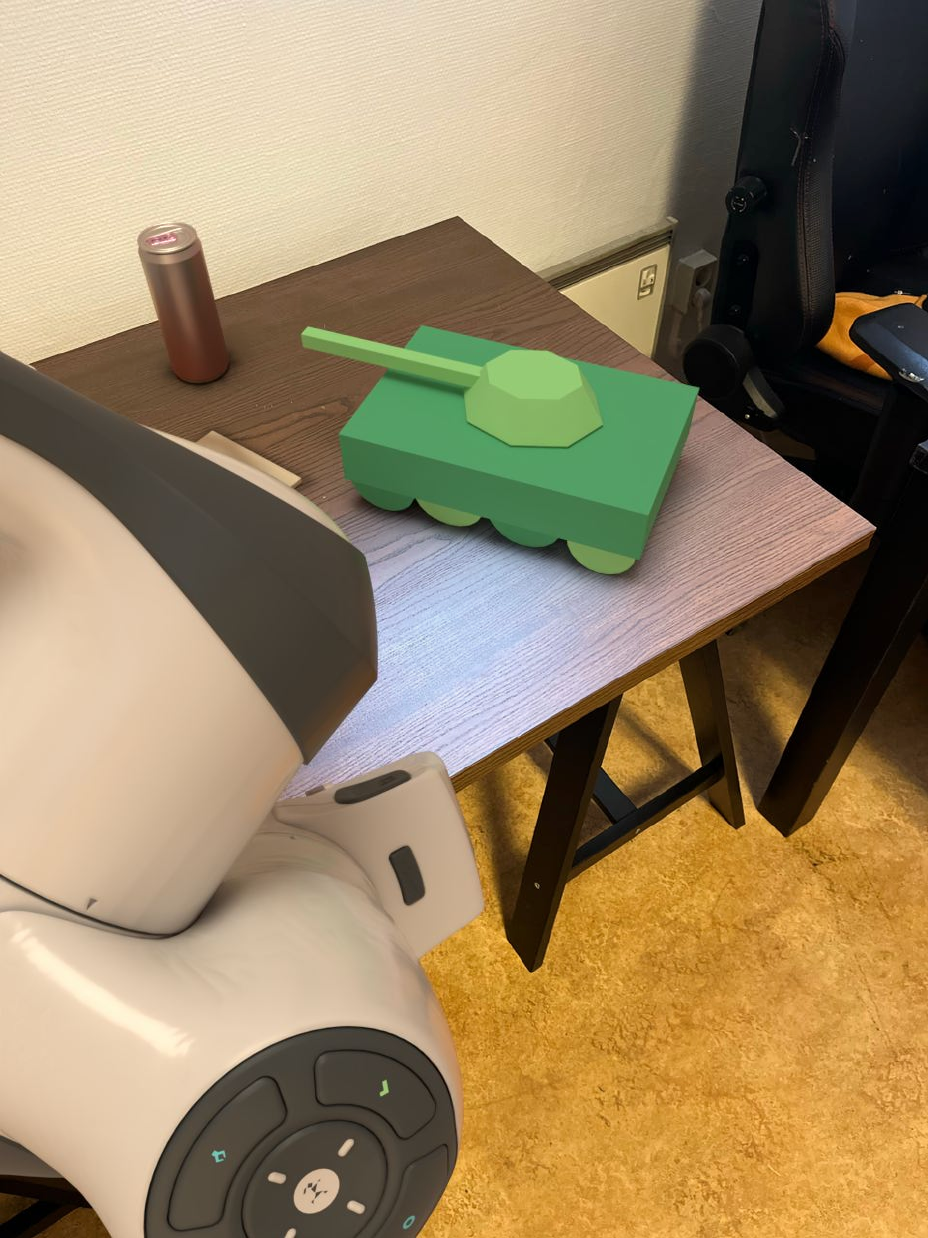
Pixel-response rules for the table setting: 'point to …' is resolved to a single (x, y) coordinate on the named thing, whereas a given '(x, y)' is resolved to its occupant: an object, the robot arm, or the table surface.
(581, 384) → the toy tank
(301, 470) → the table surface
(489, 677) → the table surface
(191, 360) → the beverage can
